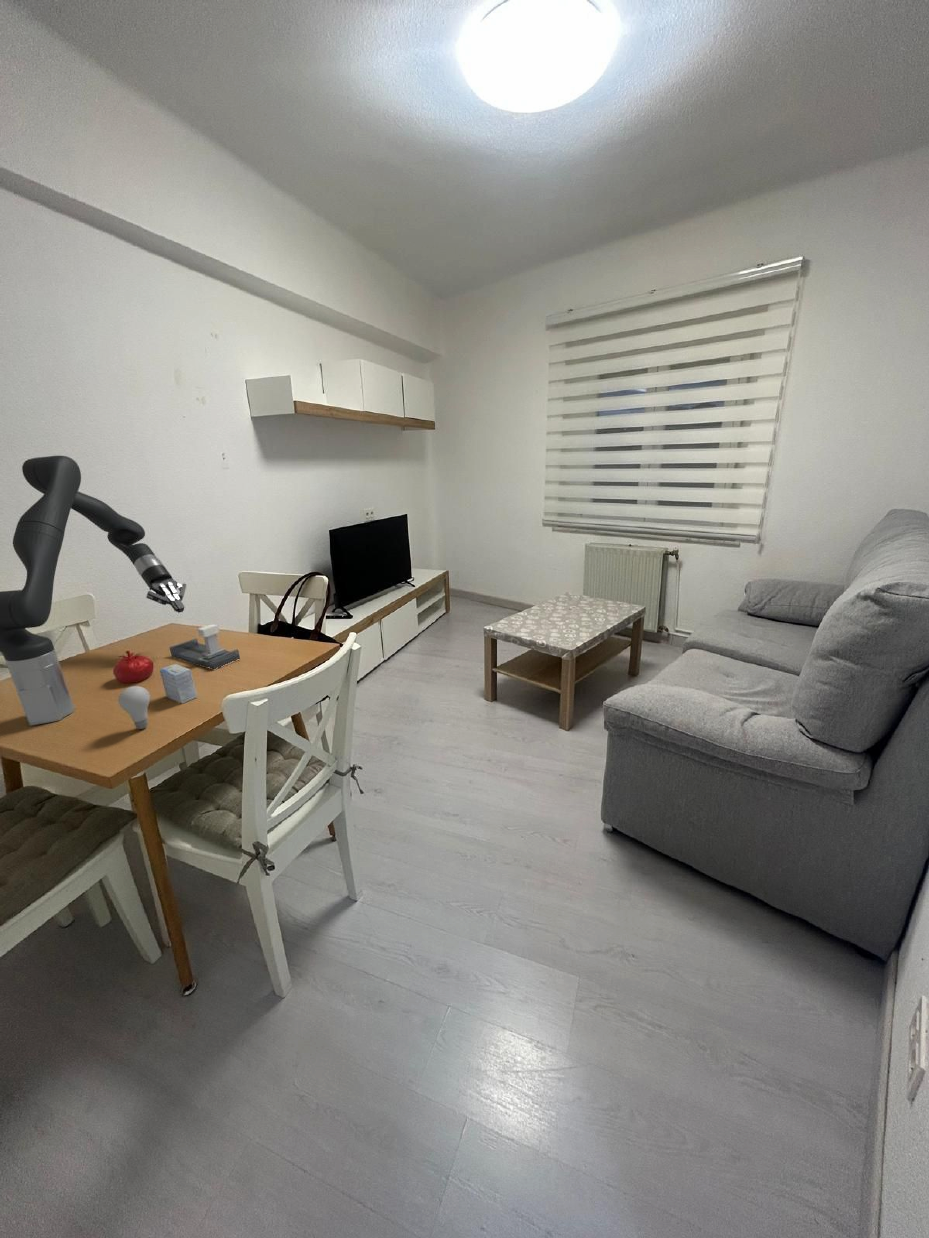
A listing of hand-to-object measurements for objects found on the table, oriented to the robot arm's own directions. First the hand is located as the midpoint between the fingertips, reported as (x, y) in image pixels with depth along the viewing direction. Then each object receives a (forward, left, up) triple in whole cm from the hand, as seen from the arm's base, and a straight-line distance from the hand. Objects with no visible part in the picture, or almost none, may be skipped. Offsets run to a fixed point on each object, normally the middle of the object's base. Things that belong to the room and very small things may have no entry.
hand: (181, 610), depth 153 cm
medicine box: (-36, -1, -16) cm, 39 cm away
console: (-7, -5, -15) cm, 17 cm away
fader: (-11, -8, -13) cm, 19 cm away
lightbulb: (-50, +6, -16) cm, 53 cm away
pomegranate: (-15, +13, -16) cm, 25 cm away
